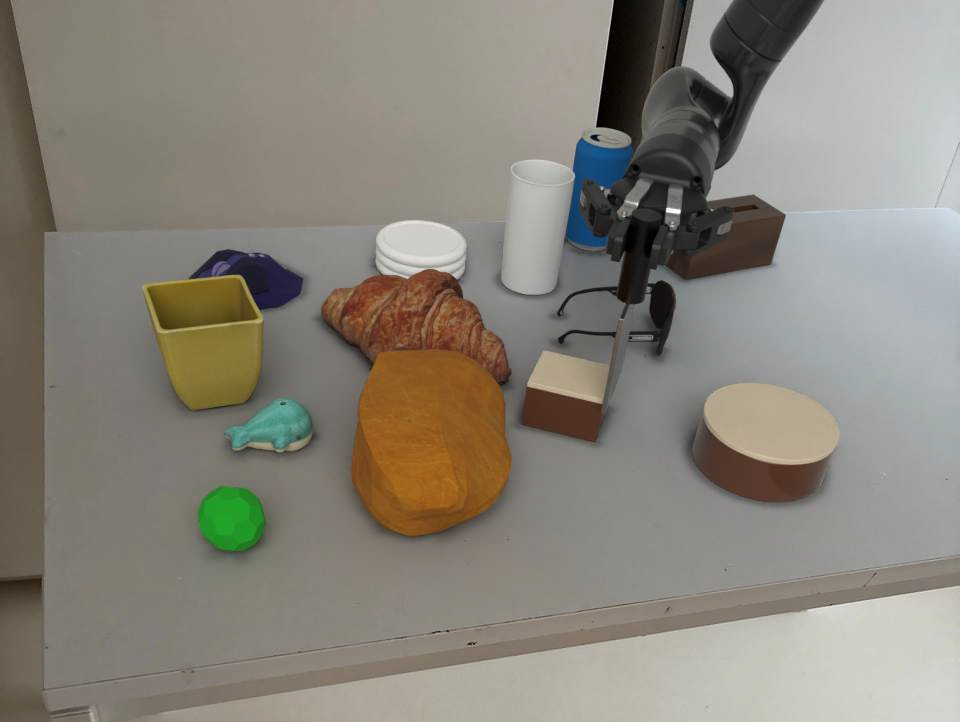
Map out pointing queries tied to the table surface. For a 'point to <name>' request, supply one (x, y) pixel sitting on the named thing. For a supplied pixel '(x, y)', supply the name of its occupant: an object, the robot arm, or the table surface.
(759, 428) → the cake
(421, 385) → the bread
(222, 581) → the table surface
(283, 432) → the whale figurine
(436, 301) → the pastry
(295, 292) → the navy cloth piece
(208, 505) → the polyhedron
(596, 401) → the cake slice
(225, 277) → the flower pot
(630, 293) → the knife
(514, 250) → the mug
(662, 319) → the sunglasses
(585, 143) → the beverage can
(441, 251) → the coaster
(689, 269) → the knife block
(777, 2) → the robot arm
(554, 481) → the table surface
